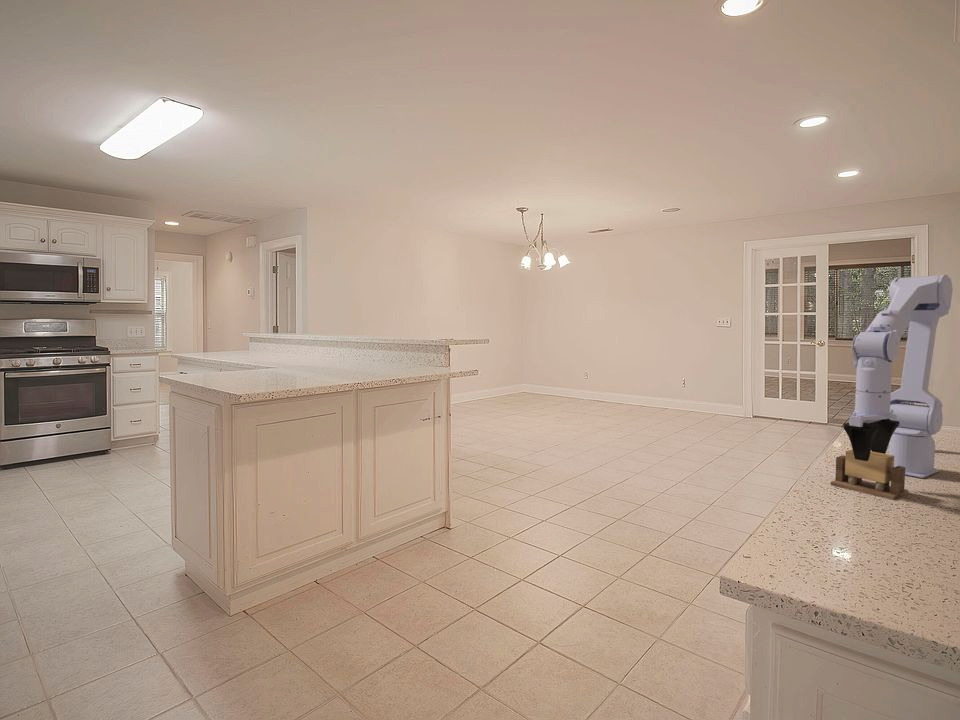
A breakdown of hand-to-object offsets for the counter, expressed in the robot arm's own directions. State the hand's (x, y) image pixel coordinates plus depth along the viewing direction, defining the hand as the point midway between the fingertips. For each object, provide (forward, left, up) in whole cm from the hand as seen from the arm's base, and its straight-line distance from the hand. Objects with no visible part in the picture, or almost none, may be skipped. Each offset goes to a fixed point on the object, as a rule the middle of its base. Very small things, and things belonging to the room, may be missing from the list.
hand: (870, 457), depth 107 cm
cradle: (0, 0, -7) cm, 7 cm away
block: (0, 0, -4) cm, 4 cm away
